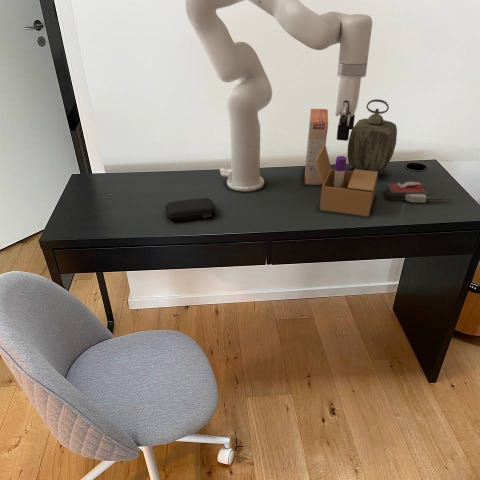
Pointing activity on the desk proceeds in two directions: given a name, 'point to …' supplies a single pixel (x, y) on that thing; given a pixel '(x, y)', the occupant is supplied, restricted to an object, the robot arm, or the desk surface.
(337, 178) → the marker
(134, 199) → the desk surface
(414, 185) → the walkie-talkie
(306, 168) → the cracker box
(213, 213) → the carrying case
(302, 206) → the desk surface
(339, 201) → the carton
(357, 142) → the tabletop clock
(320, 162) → the flap
